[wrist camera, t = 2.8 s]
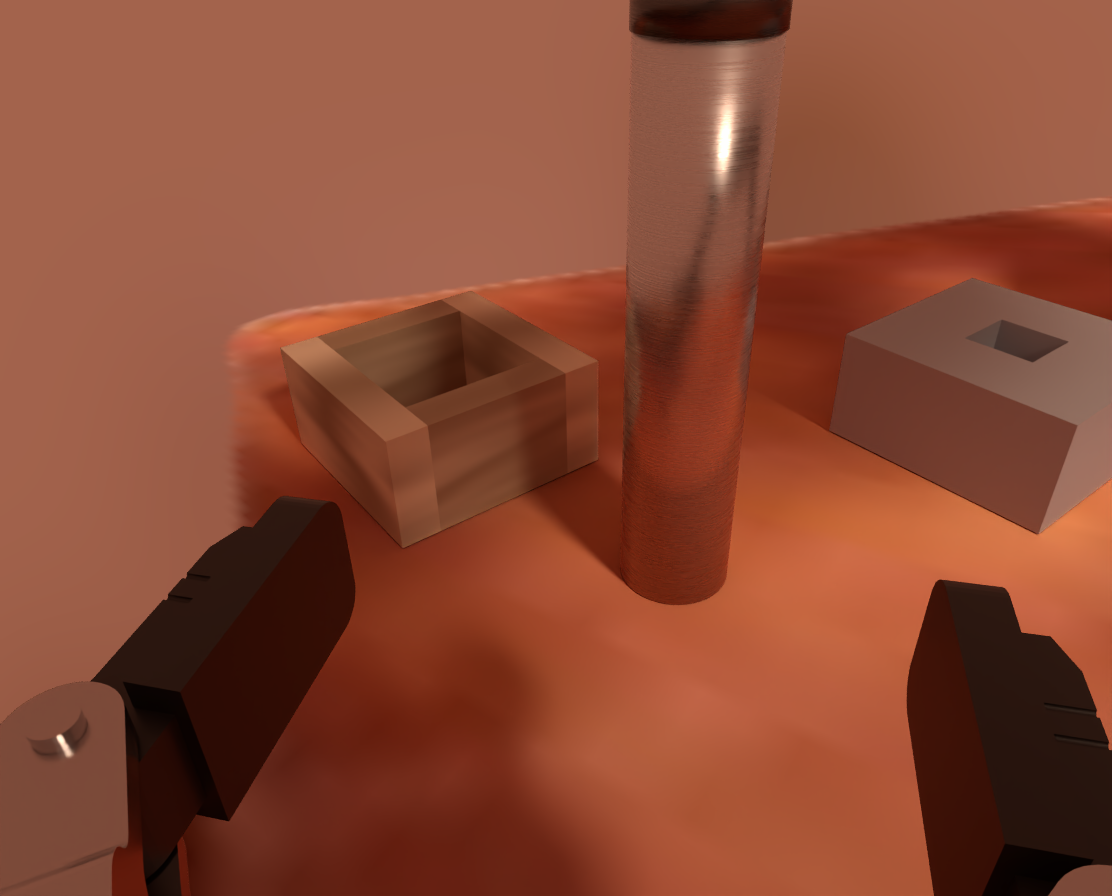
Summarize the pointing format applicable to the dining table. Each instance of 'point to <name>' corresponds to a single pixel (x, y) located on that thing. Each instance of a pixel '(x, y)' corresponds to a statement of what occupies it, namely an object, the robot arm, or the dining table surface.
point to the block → (985, 398)
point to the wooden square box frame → (443, 411)
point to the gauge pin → (692, 277)
